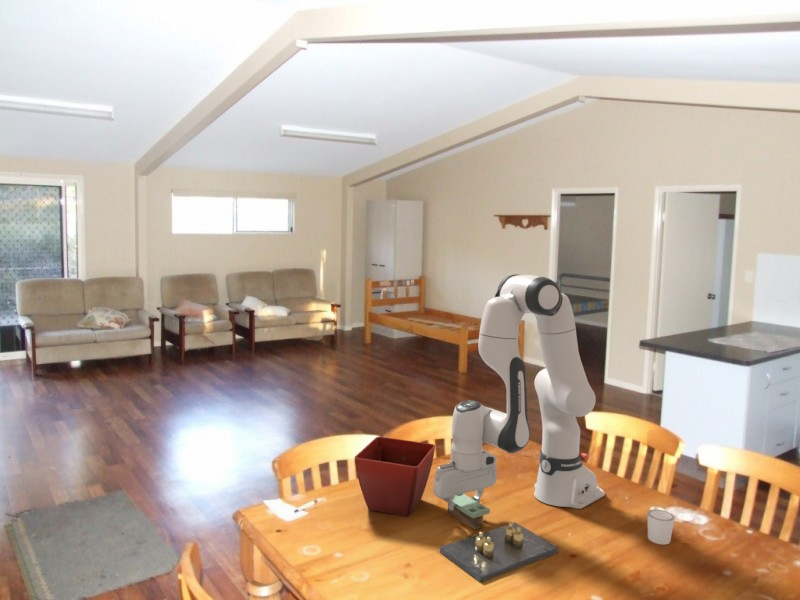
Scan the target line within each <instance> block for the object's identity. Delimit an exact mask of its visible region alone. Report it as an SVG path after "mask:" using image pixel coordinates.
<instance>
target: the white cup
mask: <svg viewBox="0 0 800 600" xmlns="http://www.w3.org/2000/svg"><path fill="white" fill-rule="evenodd" d="M646 518H647V538H648V540H649V541H650V542H652V543H654V544H657V545H668V544H670V543H671V540H672V533H673V529H674V523H675V515H674V514H673V513H672V512H669V511H666V510H663V509H651V510H648V511H647V517H646Z"/></svg>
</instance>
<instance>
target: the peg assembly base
mask: <svg viewBox="0 0 800 600" xmlns="http://www.w3.org/2000/svg"><path fill="white" fill-rule="evenodd" d="M439 553H440V554H441V555H442V556H444V557H445V558H447V559H448V560H449V561H451V562H452V563H454V564H455V565H456V566H458V567H459V568H460V569H461V570H462V571H464V572H466V573H468V575H470V576H471V577H472V578H473V579H475V580H477V581H478V582H480V583H482V582H485V581H487V580H489V579H491V578H494V577H497V576H500V575H502V574H505V573H507V572H510V571H513V570H515V569H519V568H521V567H524V566H527V565H530V564H532V563H534V562H537V561H540V560H542V559H543V560H544V559H545V558H548V557H550V556H551V557H552V556H554V555H556V554H559V547H558V546H556V545H555V544H553V543H551V542H550V541H548V540H546V539H545V538H543V537H541V536H540V535H537V534H536V533H535V532H533V531H532V530H529V529H528V528H526V527H524V526H522V525H521V524H519V523H517V522H510V521H508V524H507V525H504V526H501V527H498V528H494V529H491V530H488V531H484V532H483V531H479V532H478V534H475V535H472V536H469V537H466V538H462V539H460V540H456V541H453V542H451V543H447V544H444V545H441V546H439Z"/></svg>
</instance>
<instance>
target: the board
mask: <svg viewBox="0 0 800 600" xmlns="http://www.w3.org/2000/svg"><path fill="white" fill-rule="evenodd" d="M441 500H443V501H444V502H446V503H447V504H448V501H447V499H446V498H444V499H441ZM452 501H453V502H454V503H456V504H457V505H456V508H457V509H459V510H460V511H462V512H463V513H465V514H467V515H468V516H470V517H471V518H476V517H479V516H482V515H483V516H486V515H488V514H490V511H491V509H490V508H488V507H487V506H485V505H484V504H482V503H481V502H480V503H479V502H477V501H475V500H473V499H472V498H471V497H470V496H468V495H466V493H463V494H460V495H456V496H454V499H452Z"/></svg>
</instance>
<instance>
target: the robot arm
mask: <svg viewBox="0 0 800 600" xmlns="http://www.w3.org/2000/svg"><path fill="white" fill-rule="evenodd" d="M525 314H532V315H534V316H535V319H536V328H537V337H538V347H539V354H540V358H541V360H542V362H543V363H544V366H545V367H544V368H542V369H541V370H540V371H538V373H537V374H536V375H535V378H534V383H533V384H534V389H535V391H536V395H537V398H538V403H539V410H540V415H541V416H540V417H541V424H542V425H541V426H542V434H541V435H542V436H541V437H542V438H541V439H542V440H541V441H542V442H541V450H540V451H539V452H540V453H539V466H538V471H537V477H536V482H535V483H534V489H535V490H534V491H533V495H534V497H535V498H536V500H538V501H539V502H541V503H544V504H547V505H550V506H555V507H562V508H563V507H566V508H574V509H577V510H578V509H581V510H582V509H583V508H585V507H587V506H589V505H590V504H592V503H594V502H596V501H598V500H599V499H601V498H603V497H605V491H604V490H603V489H602V488H601V487H600V486H599V485H598V480H597V479H598V478H597V476H596V475H595V473H594V472H593V471H592V470H590V469H589V468H588V467H587V466H585V465H584V464H583V461H585V462H587V461H588V460H589V458H590V456H589V454H588V453H584V452H582V453H580V443H581V442H580V441H581V440H580V439H581V428H580V426H579V424H578V421H577V417H578V418H581V417H585V416H587V415H588V414H590V413H591V412H592V411H593V410H594V407H595V404H596V402H597V401H596V394H595V392H594V390H593V389H592V387H591V385H590V383H589V381H588V378H587V375H586V372H585V369H584V365H583V363H582V360H581V356H580V352H579V351H580V350H579V343H578V336H577V328H576V320H575V316H574V311H573V307H572V304H571V301H570V298H569V297H568V295H566V293H562V292H561V289H560V287H559V285H558V284H557V283H556V282H555V281H554V280H552V279H551V278H549V277H545V276H538V275H534V274H511V275H507V276H505V277H504V278H503V279H502V280H501V281H500V283H499V285H498V286H497V290H496V293H495V295H494V297H493V298H491V299H489V300H488V301H487V302H486V303H485V306H484V310H483V313H482V315H481V316H482V317H481V322H480V327H479V335H478V344H477V347H478V353H479V356H480V357H481V360H482V361H483V362H484V363H485V364H486V365H487V366H488V367H490V369H492V370H493V371H494V372H496V373H497V374H498V376H500V378H501V379H502V380H503V382H504V385H505V389H506V391H505V392H506V396H505V397H506V398H505V399H506V413H505V412H503V411H500V410H497V409H494V408H491V407H488V406H484V405H482V404H481V403H480V401H478V400H477V401H476V400H463V401H461V402H459V403H457V404H456V405H455V407H454V409H453V413H452V420H451V437H452V442H451V446H450V462H448V463H443V464H440V465H439V467H437V469H436V470H435V473H434V474H435V475H434V480H433V487H432V489H433V490H432V493H433V494H434V495H435V497H437V498H438V499H441V500H442V499H444V498H446V499H447V501H448V503H449V509H450V510H451V511H452V510H455V509H456V505H457V504H456V503H454V502H453V501H452V499H454V496H456V495H460V494H466V493H467V494H468V493H470V492H475V494H474V495H472V499H473V500H475V501H477V502H479V503H480V504H481V497H482V496H483V494H484V491H485V489H486V488H490V487H493V486H495V484H496V483H497V477H498V476H497V474H498V472H497V471H498V470H497V465H496V463H497V456H495V455H494V454H492V453H490V452H489V451H486V450H484V448H483V443H487V444H489V445H492V446H494V447H497V448H498V449H500V450H503V451H504V452H507V453H509V454H515V453H517V452H520V451H522V450H523V449H524V448H525V447H526V446H527V445H528V443H529V441H530V438H531V429H530V424H529V419H528V397H527V396H528V393H527V388H528V387H527V386H528V384H527V372H526V371H527V369H526V365H525V363H524V361H523V359H522V357H521V355H520V351H519V334H520V323H521V320H522V318H523V317H524V316H525ZM582 460H583V461H582ZM448 503H447V504H448Z"/></svg>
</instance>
